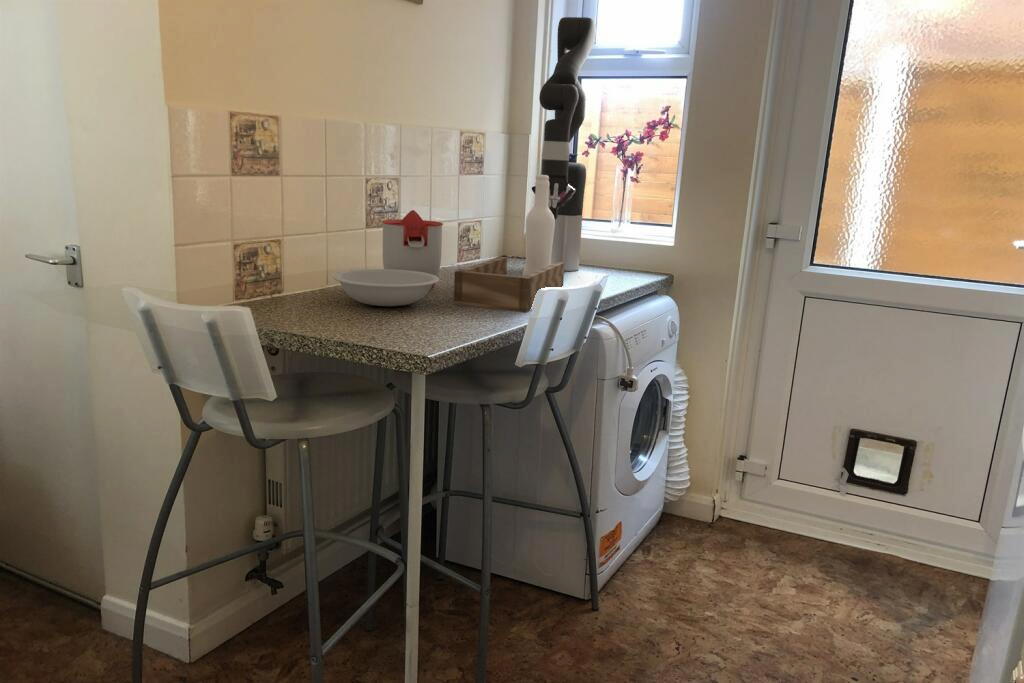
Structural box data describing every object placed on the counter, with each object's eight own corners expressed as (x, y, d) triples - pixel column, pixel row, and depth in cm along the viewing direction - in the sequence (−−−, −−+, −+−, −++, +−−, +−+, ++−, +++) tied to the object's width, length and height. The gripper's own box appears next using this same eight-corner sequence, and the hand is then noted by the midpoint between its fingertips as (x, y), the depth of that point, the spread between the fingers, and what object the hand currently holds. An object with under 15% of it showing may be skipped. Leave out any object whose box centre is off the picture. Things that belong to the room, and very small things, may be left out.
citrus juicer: (383, 293, 198) (384, 212, 193) (378, 282, 214) (379, 206, 210) (446, 294, 202) (449, 214, 197) (437, 282, 218) (439, 208, 214)
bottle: (552, 284, 225) (558, 175, 218) (550, 288, 217) (557, 175, 210) (523, 282, 226) (529, 173, 219) (520, 287, 218) (526, 174, 211)
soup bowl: (460, 308, 184) (461, 280, 183) (372, 319, 168) (373, 288, 166) (397, 292, 201) (397, 266, 199) (312, 301, 184) (312, 272, 183)
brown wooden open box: (498, 285, 218) (500, 257, 217) (562, 292, 213) (564, 262, 211) (453, 304, 189) (454, 271, 187) (526, 312, 183) (528, 278, 182)
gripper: (581, 159, 226) (577, 221, 230) (536, 157, 230) (533, 218, 234) (575, 159, 219) (571, 223, 223) (528, 157, 223) (525, 220, 227)
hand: (551, 220), depth 228 cm, fingers closed
